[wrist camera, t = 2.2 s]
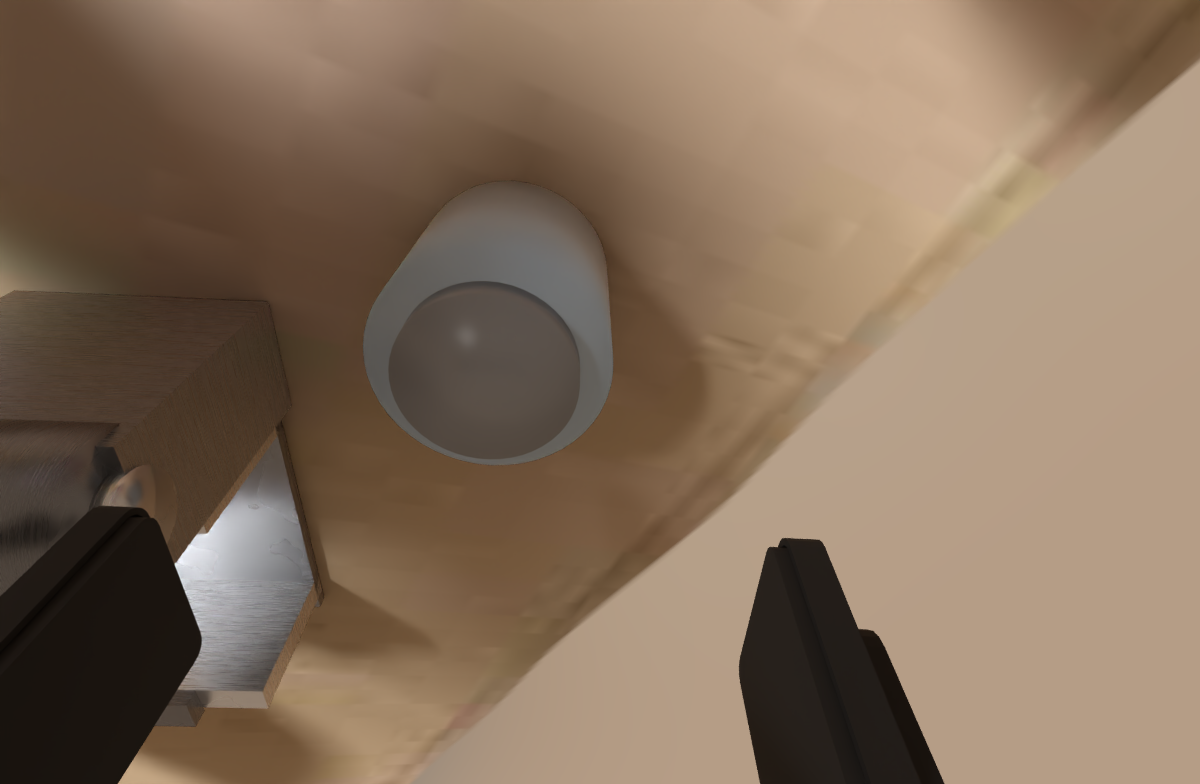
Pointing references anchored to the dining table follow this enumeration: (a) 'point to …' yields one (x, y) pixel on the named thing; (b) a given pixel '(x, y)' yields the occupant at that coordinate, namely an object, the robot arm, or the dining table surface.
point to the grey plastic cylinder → (495, 328)
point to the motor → (164, 465)
